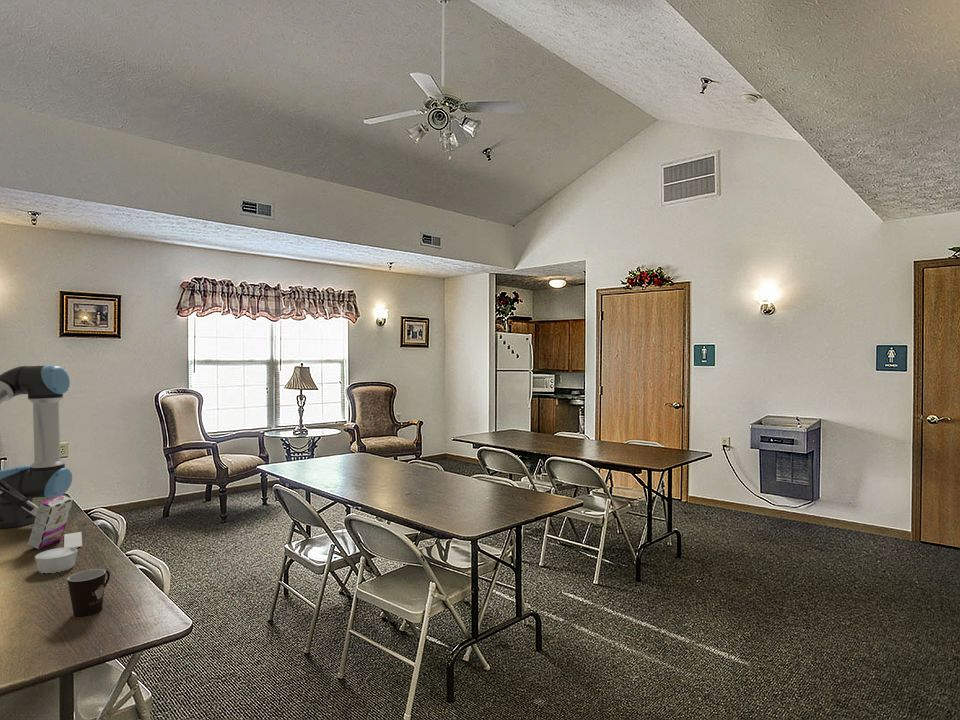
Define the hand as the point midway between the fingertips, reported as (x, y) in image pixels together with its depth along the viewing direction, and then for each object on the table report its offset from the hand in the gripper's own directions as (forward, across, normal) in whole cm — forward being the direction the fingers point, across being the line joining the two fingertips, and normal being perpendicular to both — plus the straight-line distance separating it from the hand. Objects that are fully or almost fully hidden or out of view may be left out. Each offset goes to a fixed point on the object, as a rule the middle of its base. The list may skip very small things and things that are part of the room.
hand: (41, 514), depth 213 cm
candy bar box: (+8, 0, -7) cm, 11 cm away
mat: (+15, +1, -2) cm, 15 cm away
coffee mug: (+18, +75, +2) cm, 78 cm away
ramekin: (+12, +31, -5) cm, 34 cm away
